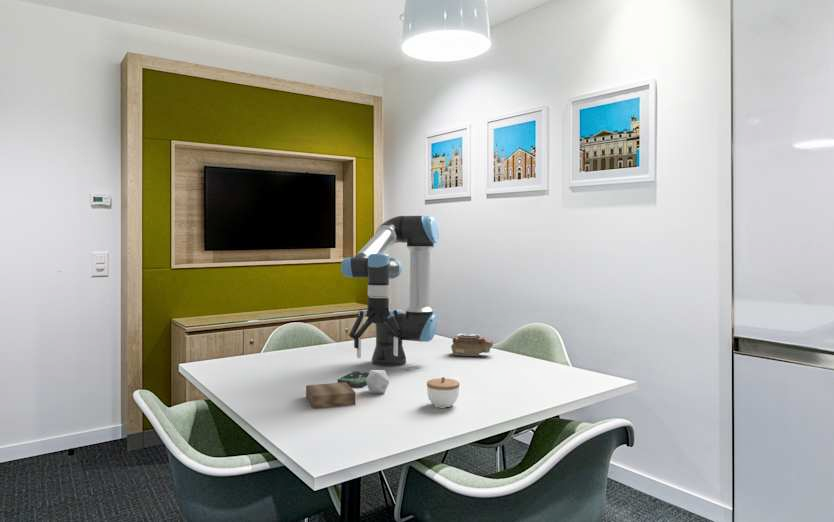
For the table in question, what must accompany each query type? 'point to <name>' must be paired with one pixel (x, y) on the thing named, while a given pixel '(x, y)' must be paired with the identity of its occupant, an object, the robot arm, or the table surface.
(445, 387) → the lidded jar
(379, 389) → the die
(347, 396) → the walnut base
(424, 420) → the table surface
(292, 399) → the table surface
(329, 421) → the table surface
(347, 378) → the disk drive
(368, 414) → the table surface
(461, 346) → the decorative box
